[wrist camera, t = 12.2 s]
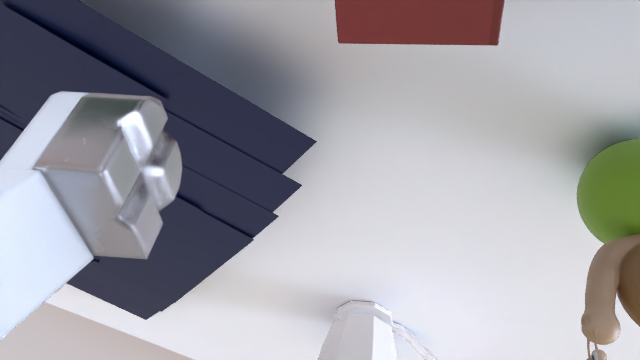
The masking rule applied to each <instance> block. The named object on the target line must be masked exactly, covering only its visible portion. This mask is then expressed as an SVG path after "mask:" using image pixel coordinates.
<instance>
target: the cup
mask: <svg viewBox="0 0 640 360" xmlns="http://www.w3.org/2000/svg"><path fill="white" fill-rule="evenodd" d="M336 313H337V319H338V320H337V321H335V322H333V324H332V326H331V328H330V331H329V333H328V335H327V337H326V339H325V341H324V343H323V345H322V348H321V351H320V354H319V357H318V360H397V354H396V348H395V342H394V337H393V332H395V333H397V334H398V335H400V336H401V337H402V338H404V339H405V340H406V341H408V342H409V343H410V344H411V345H412V346H413V347H414V348H415V349H416V351H417V352H418V353H419V354H420V355H421V356H422V357H423V358H424V359H425V360H437V359H436V358H435V356H434V355H433V354H432V353H431V352H430V351H429V350H428V349H427V348H426V347H425V346H424V345H423V344H422V342H421V341H420V340H419V339H418V338H417V337H416V336H415V335H413V334H412V333H411V332H410V331H408V330H407V329H406V328H404V327H403V326H402V325H399V324H396V323H393V322H392V312H390V311H388V310H387V309H385V308H383V307H382V306H380V305H378V304H377V303H375V302H363V301H350V302H348V303H346V304H344V305H342V306H341V307H339V308H337V312H336Z"/></svg>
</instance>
